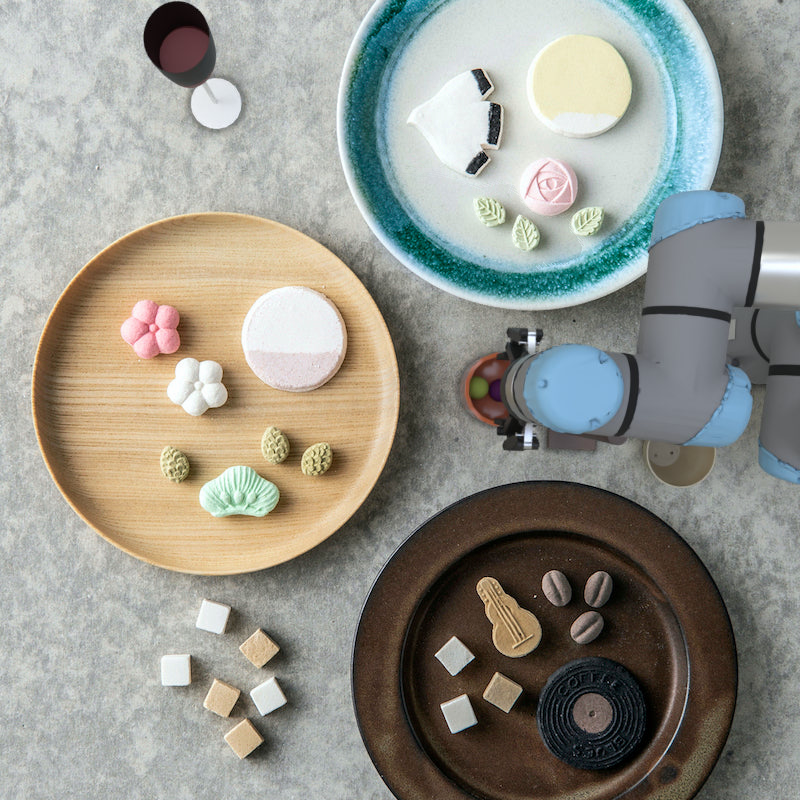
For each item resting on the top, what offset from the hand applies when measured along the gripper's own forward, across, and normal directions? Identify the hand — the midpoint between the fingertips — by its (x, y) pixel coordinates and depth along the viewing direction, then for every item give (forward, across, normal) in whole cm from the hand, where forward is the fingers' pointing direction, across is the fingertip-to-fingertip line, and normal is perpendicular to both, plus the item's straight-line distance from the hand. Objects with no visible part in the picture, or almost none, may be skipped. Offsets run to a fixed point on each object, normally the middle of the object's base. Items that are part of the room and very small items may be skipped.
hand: (505, 389), depth 96 cm
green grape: (+8, 0, +3) cm, 9 cm away
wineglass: (+11, +41, +43) cm, 61 cm away
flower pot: (+11, -8, -26) cm, 30 cm away
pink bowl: (+11, 0, 0) cm, 11 cm away
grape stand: (+11, -5, -12) cm, 17 cm away
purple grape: (+9, 0, -1) cm, 9 cm away
